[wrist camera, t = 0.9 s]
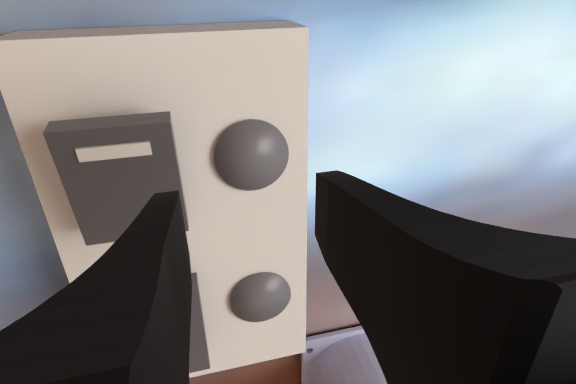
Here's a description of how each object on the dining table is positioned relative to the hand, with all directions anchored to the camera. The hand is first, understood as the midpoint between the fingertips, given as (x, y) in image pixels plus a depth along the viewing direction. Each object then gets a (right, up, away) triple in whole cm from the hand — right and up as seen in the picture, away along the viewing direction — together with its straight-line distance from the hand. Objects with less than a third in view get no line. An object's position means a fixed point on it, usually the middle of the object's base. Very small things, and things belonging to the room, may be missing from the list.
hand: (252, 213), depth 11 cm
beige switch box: (-4, 0, +10) cm, 11 cm away
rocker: (-5, +1, +5) cm, 7 cm away
